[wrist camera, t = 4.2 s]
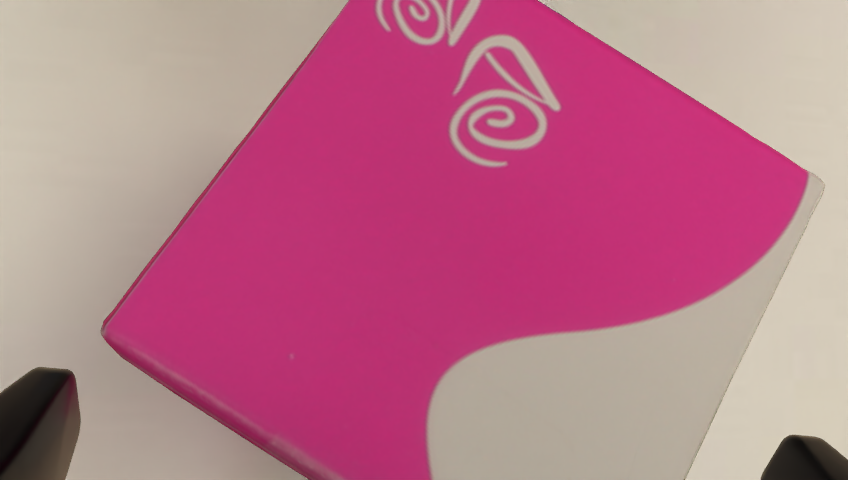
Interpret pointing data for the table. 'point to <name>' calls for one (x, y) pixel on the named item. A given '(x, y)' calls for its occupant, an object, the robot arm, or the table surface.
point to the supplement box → (471, 257)
